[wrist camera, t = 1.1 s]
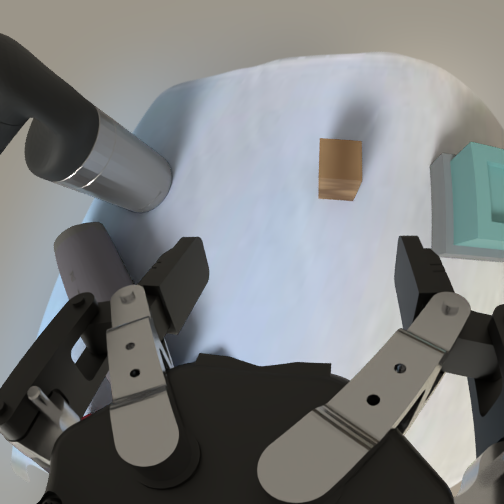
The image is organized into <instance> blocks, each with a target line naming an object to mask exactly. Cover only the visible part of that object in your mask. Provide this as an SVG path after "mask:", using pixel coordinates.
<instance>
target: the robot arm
mask: <svg viewBox="0 0 504 504" xmlns="http://www.w3.org/2000/svg"><path fill="white" fill-rule="evenodd" d="M29 118H33V121H32V123H31V126H30V129H29V131H28V134H27V138H26V143H25V160H26V164H27V166H28V168H29V170H30V171H31V172H32V173H33V174H34V175H36V176H38V177H40V178H43V179H45V180H48V181H51V182H53V183H56V184H59V185H62V186H64V187H67V188H70V189H73V190H76V191H78V192H81V193H84V194H87V195H89V196H92V197H94V198H97V199H100V200H103V201H105V202H108V203H111V204H114V205H116V206H119V207H122V208H124V209H127V210H130V211H133V212H136V213H143V212H148V211H150V210H152V209H154V208H155V207H157V206H158V205H159V204H160V203H161V202H162V201H163V200H164V198H165V197H166V195H167V193H168V191H169V189H170V185H171V179H172V174H171V169H170V166H169V164H168V162H167V161H166V159H164V158H163V157H162V156H161V155H159V154H158V153H157V152H156V151H154V150H153V149H152V148H151V147H149V146H148V145H147V144H145V143H144V142H143V141H141V140H140V139H139V138H137V137H136V136H135V135H133V134H132V133H131V132H129V131H128V130H127V129H125V128H124V127H123V126H121V125H120V124H119V123H117V122H116V121H115V120H113V119H112V118H111V117H109V116H108V115H107V114H105V113H104V112H103V111H101V110H100V109H98V108H97V107H96V106H94V105H93V104H92V103H91V102H89V101H88V100H86V99H85V98H84V97H83V96H82V95H81V94H79V93H78V92H77V91H76V90H75V89H74V88H73V87H71V86H70V85H69V84H68V83H66V82H65V81H64V80H63V79H61V78H60V77H59V76H57V75H56V74H55V73H54V72H53V71H51V70H50V69H49V68H48V67H46V66H45V65H44V64H43V63H42V62H41V61H39V60H38V59H37V58H36V57H35V56H34V55H33V54H32V53H30V52H29V51H28V50H27V49H26V48H24V47H23V46H22V45H21V44H19V43H18V42H17V41H15V40H13V39H12V38H10V37H9V36H6V35H3V34H1V33H0V154H1V153H2V152H3V151H4V149H5V148H6V146H7V145H8V144H9V143H10V141H11V140H12V139H13V137H14V136H15V135H16V134H17V132H18V131H19V130H20V129H21V127H22V126H23V125H24V124H25V122H26V121H27V120H28V119H29ZM208 280H209V267H208V263H207V259H206V255H205V250H204V246H203V242H202V240H201V238H200V237H182V238H181V239H180V240H179V241H178V243H177V244H176V245H175V246H174V247H173V248H172V249H170V250H169V251H167V252H166V253H164V254H163V255H162V256H161V257H160V258H159V259H158V260H157V263H155V264H154V265H153V266H152V269H150V270H149V271H148V272H147V274H146V275H145V276H144V277H143V278H142V280H141V281H140V282H139V283H138V284H137V285H129V286H126V287H123V288H121V289H119V290H118V291H117V292H115V293H114V294H113V296H112V297H111V301H105V302H98V303H97V301H96V299H95V297H94V295H93V294H92V293H90V292H84V293H80V294H78V295H76V296H74V297H72V298H71V299H70V300H69V301H68V302H67V303H66V304H65V305H64V307H63V308H62V309H61V310H60V311H59V313H58V314H57V315H56V316H55V317H54V319H53V320H52V321H51V322H50V323H49V325H48V326H47V327H46V328H45V330H44V331H43V332H42V333H41V335H40V336H39V337H38V338H37V340H36V341H35V342H34V343H33V345H32V346H31V347H30V349H29V350H28V351H27V353H26V354H25V355H24V357H23V358H22V359H21V360H20V362H19V363H18V365H17V366H16V367H15V369H14V370H13V371H12V373H11V374H10V376H9V377H8V378H7V380H6V381H5V383H4V384H3V385H2V387H1V388H0V433H1V434H2V435H3V436H4V437H5V439H6V440H7V441H9V442H10V443H11V444H12V445H13V446H14V447H16V448H17V449H18V450H19V451H20V452H22V453H23V454H24V455H25V456H27V457H29V458H31V459H32V460H33V461H34V462H36V463H37V464H38V465H40V466H41V467H44V468H50V472H49V478H48V483H47V487H46V491H45V494H44V495H43V497H42V498H41V500H40V501H39V502H38V503H37V504H504V304H502V305H499V306H497V307H496V308H495V310H494V312H493V314H492V315H487V314H483V313H478V312H474V311H472V310H471V308H470V304H469V303H468V301H467V300H466V299H465V298H464V297H462V296H461V295H459V294H456V293H455V292H454V290H453V287H452V285H451V282H450V280H449V278H448V276H447V273H446V272H445V269H444V267H443V265H442V262H441V260H440V258H439V256H438V255H437V254H436V253H435V252H434V251H433V250H431V249H430V248H423V246H422V244H421V242H420V239H419V237H418V236H399V238H398V246H397V255H396V264H395V275H394V280H395V288H396V293H397V298H398V303H399V308H400V314H401V319H402V325H403V329H402V328H400V329H398V330H397V331H396V332H395V334H394V335H393V336H392V337H391V338H390V339H389V340H388V342H387V343H386V344H385V345H384V346H383V347H382V348H381V349H380V350H379V352H378V353H377V354H376V355H375V356H374V357H373V358H372V359H371V360H370V361H369V362H368V363H367V364H366V365H365V366H364V368H363V369H362V370H361V371H360V372H359V373H358V374H357V375H356V376H355V377H354V378H353V379H352V380H351V381H350V380H348V379H346V378H344V377H341V376H338V375H335V374H331V363H306V362H294V363H287V364H279V365H271V366H256V365H253V364H250V363H247V362H244V361H241V360H238V359H235V358H232V357H228V356H219V355H211V354H203V353H199V356H198V358H197V360H196V362H194V363H187V364H183V365H179V366H176V367H174V365H173V362H172V359H171V356H170V353H169V350H168V347H167V343H166V341H165V339H164V336H165V335H166V333H168V334H175V335H178V334H179V332H180V330H181V328H182V327H183V325H184V323H185V321H186V319H187V318H188V316H189V314H190V312H191V311H192V309H193V307H194V305H195V304H196V302H197V300H198V298H199V297H200V295H201V293H202V291H203V290H204V288H205V286H206V284H207V282H208ZM80 337H81V338H82V340H83V342H84V343H85V345H86V348H85V350H84V351H83V353H82V354H81V356H80V357H79V359H78V360H77V362H76V363H74V362H73V360H72V358H71V350H72V348H73V346H74V345H75V343H76V342H77V341H78V339H79V338H80ZM108 371H109V372H110V382H111V390H112V398H113V402H112V403H111V404H109V405H107V406H105V407H104V408H102V409H100V410H98V411H97V412H95V413H93V414H91V415H89V416H88V417H86V418H84V419H82V417H83V415H84V413H85V412H86V410H87V408H88V406H89V404H90V402H91V401H92V399H93V397H94V395H95V394H96V392H97V390H98V388H99V387H100V385H101V383H102V381H103V380H104V378H105V376H106V374H107V373H108ZM446 372H448V373H452V374H457V375H461V376H466V377H467V379H468V385H469V391H470V398H471V405H472V413H473V421H474V431H475V443H476V460H475V461H474V462H473V463H472V464H471V465H470V466H469V467H468V468H467V469H466V471H465V473H464V475H463V478H462V485H461V488H460V491H459V493H458V494H457V496H456V497H453V495H452V492H451V490H450V488H449V487H448V485H447V484H446V483H445V481H444V480H443V479H442V478H441V477H440V476H439V475H438V474H437V472H436V471H435V470H434V469H433V468H432V467H431V466H430V465H429V463H428V462H427V461H426V460H425V459H424V458H423V457H422V456H421V454H420V453H419V452H418V451H417V450H416V449H415V448H414V446H413V445H412V444H411V443H410V442H409V441H408V440H407V439H406V437H405V436H404V435H405V434H406V432H407V431H408V430H409V428H410V427H411V425H412V424H413V422H414V421H415V419H416V418H417V416H418V415H419V413H420V411H421V410H422V408H423V407H424V406H425V404H426V403H427V401H428V400H429V398H430V397H431V395H432V394H433V392H434V391H435V389H436V388H437V386H438V385H439V383H440V381H441V380H442V378H443V377H444V375H445V373H446ZM81 419H82V420H81Z"/></svg>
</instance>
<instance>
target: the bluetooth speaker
mask: <svg viewBox="0 0 504 504" xmlns="http://www.w3.org/2000/svg"><path fill="white" fill-rule="evenodd" d="M54 251H55V256H56V261H57V264H58V268H59V271H60V275H61V278H62V281H63V284H64V287H65V290H66V293H67V296H68V298H69V300H70V299H71V298H72V297H74V296H76V295H78V294H80V293H84V292H90V293H92V294H93V295H94V297H95V299H96V301H97V303H98V302H105V301H111V297H112V296H113V294H114V293H115V292H117V291H118V290H119V289H121V288H123V287H126V286H129V285H134V283H133V281H132V279H131V278H130V276H129V274H128V272H127V270H126V268H125V266H124V264H123V262H122V260H121V258H120V256H119V254H118V252H117V250H116V248H115V246H114V244H113V242H112V240H111V238H110V236H109V234H108V233H107V231H106V229H105V228H104V226H103V225H102V224H101V223H99V222H90V223H83V224H80V225H75V226H72V227H70V228H68V229H67V230H65V231H64V232H62V233H61V234H60V235H59V236H58V237H57V239H56V240H55V242H54ZM106 378H107V379H108V381H109V383H110V384H111V382H110V372H109V371H108V373H107V374H106Z"/></svg>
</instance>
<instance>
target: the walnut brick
mask: <svg viewBox="0 0 504 504" xmlns="http://www.w3.org/2000/svg"><path fill="white" fill-rule="evenodd" d="M361 182H362V141H353V140H340V139H324V138H320V153H319V199H333V200H346V201H353V200H354V198H355V196H356V193H357V191H358V189H359V187H360V184H361Z"/></svg>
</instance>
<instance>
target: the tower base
mask: <svg viewBox="0 0 504 504" xmlns="http://www.w3.org/2000/svg"><path fill="white" fill-rule="evenodd" d="M430 177H431V200H432V248H431V250H433V251H434V252H435V253H436V254H437V255H438V256H439V257H446V258H458V259H470V260H482V261H493V262H504V149H500V148H496V147H492V146H488V145H483V144H479V143H474V142H470V143H469V144H468V145H467V146H466V147H465V148H464V149H463V150H462V151H461V152H460V153H459V154H457V155H453V154H447V153H442V154H441V155H440V156H439V157H438V158H437V159H436V160H435V161H434V162H433V163H432V164H431V165H430Z"/></svg>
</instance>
